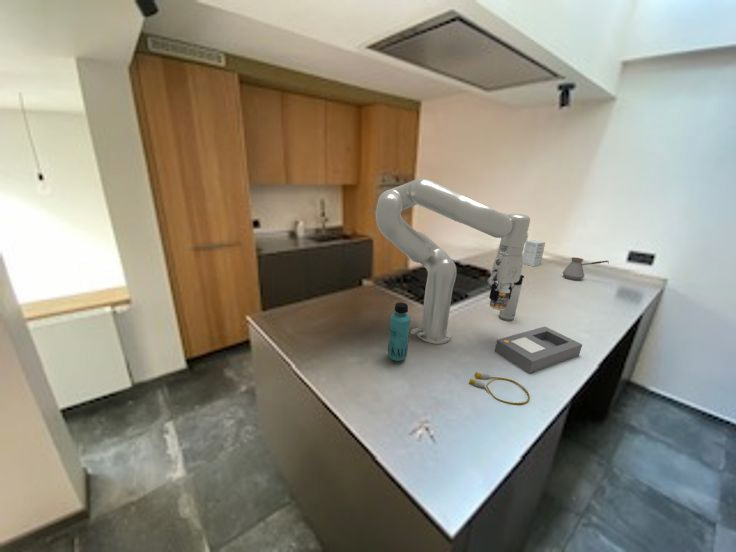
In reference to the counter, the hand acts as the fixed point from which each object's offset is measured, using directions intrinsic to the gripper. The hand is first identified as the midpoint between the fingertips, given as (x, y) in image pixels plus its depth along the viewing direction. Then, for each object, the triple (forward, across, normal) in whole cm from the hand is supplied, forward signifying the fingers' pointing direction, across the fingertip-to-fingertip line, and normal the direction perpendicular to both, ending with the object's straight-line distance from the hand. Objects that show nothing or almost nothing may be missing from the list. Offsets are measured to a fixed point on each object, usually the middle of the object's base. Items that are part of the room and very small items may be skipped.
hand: (499, 298), depth 110 cm
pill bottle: (+4, 0, 0) cm, 4 cm away
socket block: (+16, +8, -14) cm, 23 cm away
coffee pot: (+15, +110, +30) cm, 115 cm away
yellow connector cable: (+18, -19, -22) cm, 34 cm away
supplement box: (+15, +111, +66) cm, 130 cm away
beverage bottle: (+18, -40, +2) cm, 44 cm away
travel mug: (+17, +21, +10) cm, 29 cm away
